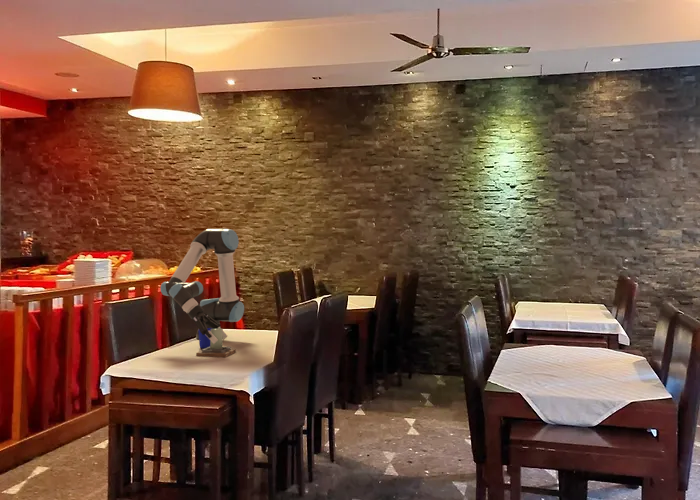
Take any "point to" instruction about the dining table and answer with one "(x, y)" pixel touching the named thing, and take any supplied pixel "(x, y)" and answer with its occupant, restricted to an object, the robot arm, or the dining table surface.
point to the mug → (204, 340)
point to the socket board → (216, 352)
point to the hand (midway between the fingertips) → (221, 339)
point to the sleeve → (219, 335)
